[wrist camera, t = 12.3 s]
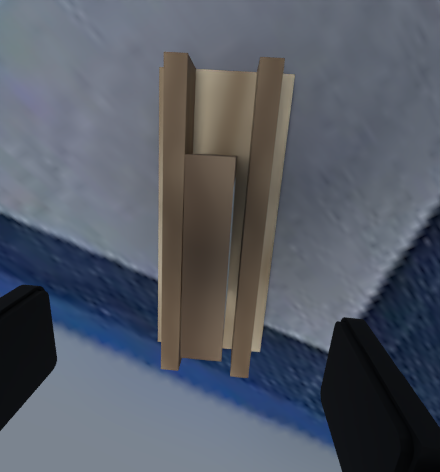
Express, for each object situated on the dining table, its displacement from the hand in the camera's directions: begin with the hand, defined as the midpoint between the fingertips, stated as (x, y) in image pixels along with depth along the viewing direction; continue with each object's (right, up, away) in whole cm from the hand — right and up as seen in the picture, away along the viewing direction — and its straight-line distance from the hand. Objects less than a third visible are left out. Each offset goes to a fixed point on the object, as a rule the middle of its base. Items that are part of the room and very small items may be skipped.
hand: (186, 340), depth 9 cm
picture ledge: (+1, +5, +17) cm, 18 cm away
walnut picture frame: (+1, +4, +15) cm, 16 cm away
